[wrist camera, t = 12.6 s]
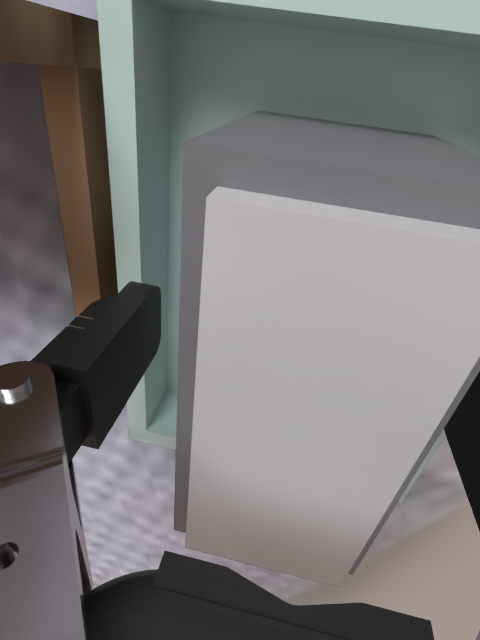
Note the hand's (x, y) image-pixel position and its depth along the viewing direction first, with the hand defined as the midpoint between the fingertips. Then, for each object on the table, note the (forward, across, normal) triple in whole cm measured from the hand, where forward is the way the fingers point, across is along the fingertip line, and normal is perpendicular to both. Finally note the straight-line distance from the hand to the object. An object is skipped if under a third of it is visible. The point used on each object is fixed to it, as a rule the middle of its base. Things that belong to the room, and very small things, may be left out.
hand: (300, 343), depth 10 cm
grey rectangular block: (+4, 0, 0) cm, 4 cm away
